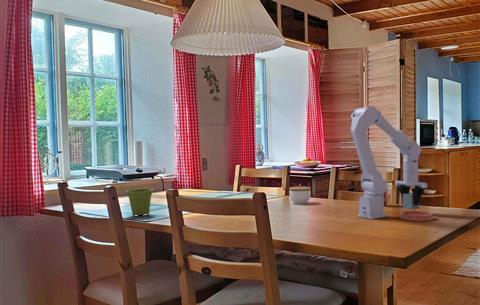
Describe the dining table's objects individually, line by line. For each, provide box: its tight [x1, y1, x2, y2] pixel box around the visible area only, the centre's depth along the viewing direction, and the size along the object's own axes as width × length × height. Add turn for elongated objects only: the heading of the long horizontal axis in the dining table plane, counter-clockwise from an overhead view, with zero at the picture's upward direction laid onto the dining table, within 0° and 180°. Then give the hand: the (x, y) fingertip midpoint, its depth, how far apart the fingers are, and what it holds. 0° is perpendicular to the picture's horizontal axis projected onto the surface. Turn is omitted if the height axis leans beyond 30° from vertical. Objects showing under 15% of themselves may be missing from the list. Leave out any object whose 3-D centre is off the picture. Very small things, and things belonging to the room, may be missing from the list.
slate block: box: [402, 192, 420, 210], centre depth 192 cm, size 4×4×6 cm
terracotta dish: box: [399, 210, 434, 222], centre depth 180 cm, size 12×12×2 cm
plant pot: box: [125, 188, 154, 216], centre depth 208 cm, size 12×12×11 cm
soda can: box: [383, 178, 388, 207], centre depth 216 cm, size 7×7×12 cm
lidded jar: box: [288, 183, 312, 205], centre depth 231 cm, size 11×11×9 cm
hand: (411, 204), depth 192 cm, fingers closed on slate block, 4 cm apart
